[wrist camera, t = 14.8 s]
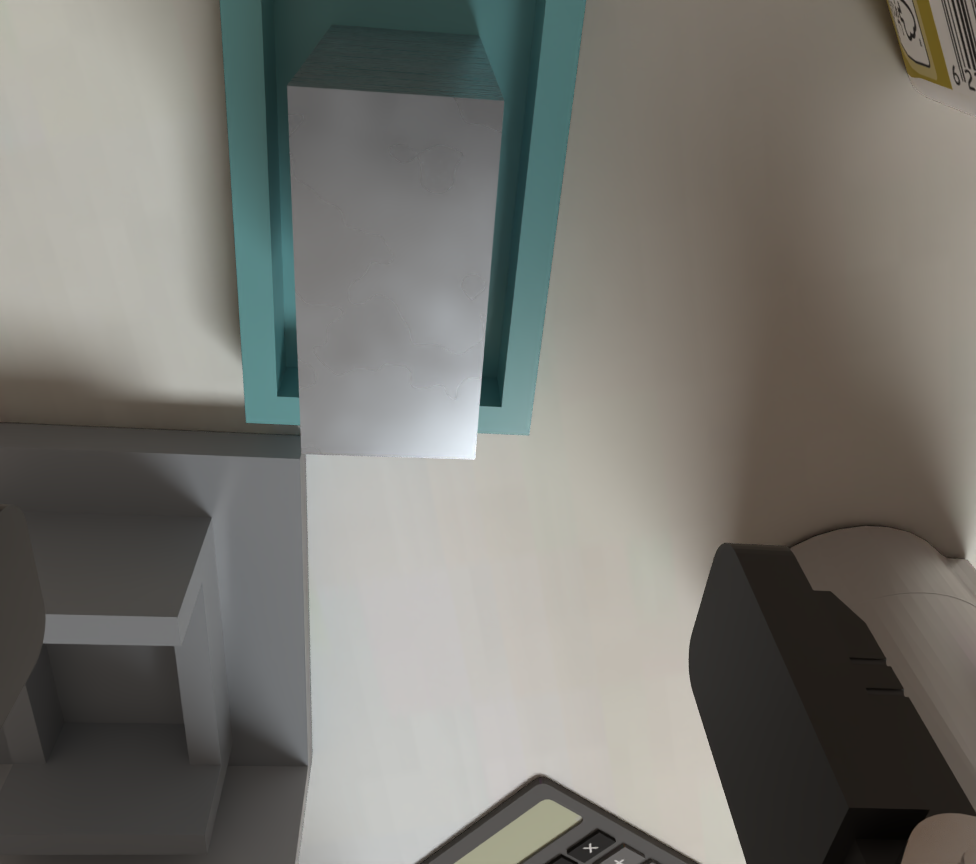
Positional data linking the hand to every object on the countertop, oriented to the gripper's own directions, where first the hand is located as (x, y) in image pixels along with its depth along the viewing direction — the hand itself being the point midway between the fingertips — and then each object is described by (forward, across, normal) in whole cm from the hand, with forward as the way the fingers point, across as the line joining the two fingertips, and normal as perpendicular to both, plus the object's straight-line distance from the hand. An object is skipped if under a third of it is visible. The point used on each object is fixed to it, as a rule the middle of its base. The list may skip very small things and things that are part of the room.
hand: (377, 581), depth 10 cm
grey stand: (+19, +10, +18) cm, 28 cm away
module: (+18, 0, 0) cm, 18 cm away
